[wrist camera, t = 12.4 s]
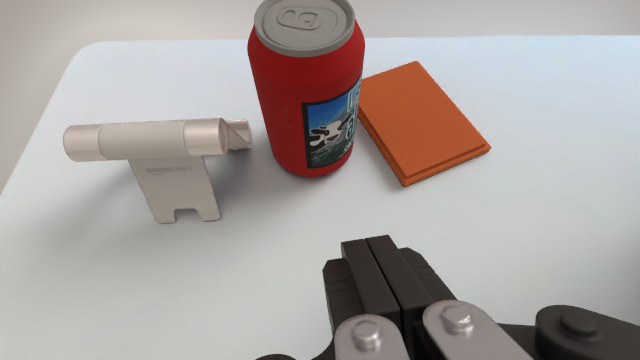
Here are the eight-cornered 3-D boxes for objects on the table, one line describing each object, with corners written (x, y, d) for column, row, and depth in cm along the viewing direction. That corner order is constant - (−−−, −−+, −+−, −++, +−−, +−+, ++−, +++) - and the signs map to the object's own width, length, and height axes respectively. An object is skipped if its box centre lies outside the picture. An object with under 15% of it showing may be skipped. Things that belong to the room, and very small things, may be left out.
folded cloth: (416, 66, 33) (419, 56, 32) (488, 152, 28) (494, 143, 27) (342, 92, 31) (342, 83, 30) (404, 187, 26) (407, 180, 25)
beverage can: (341, 191, 26) (351, 72, 16) (260, 171, 27) (219, 46, 17) (361, 125, 29) (380, -11, 19) (287, 109, 30) (267, -29, 20)
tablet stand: (252, 134, 29) (227, 55, 22) (247, 219, 25) (214, 157, 18) (151, 139, 29) (92, 61, 22) (131, 225, 25) (50, 166, 18)
